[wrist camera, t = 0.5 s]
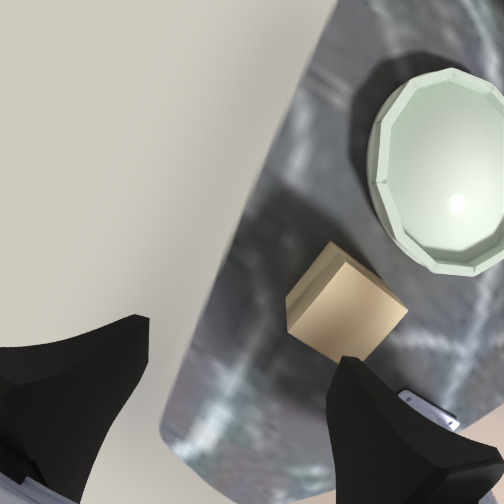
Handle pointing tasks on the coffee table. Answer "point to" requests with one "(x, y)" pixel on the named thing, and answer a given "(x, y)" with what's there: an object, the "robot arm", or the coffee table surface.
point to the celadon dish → (441, 171)
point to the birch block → (341, 307)
